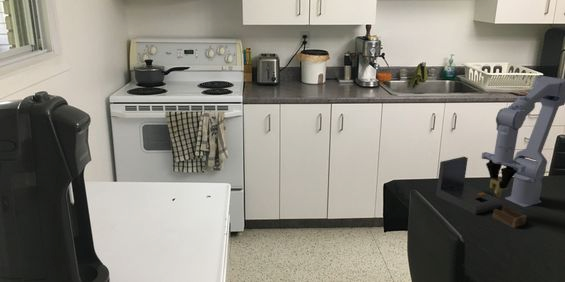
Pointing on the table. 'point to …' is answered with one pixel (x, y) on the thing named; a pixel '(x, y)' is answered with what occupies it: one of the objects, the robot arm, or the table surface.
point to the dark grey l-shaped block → (462, 188)
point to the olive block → (496, 186)
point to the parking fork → (509, 217)
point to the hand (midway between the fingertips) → (498, 185)
